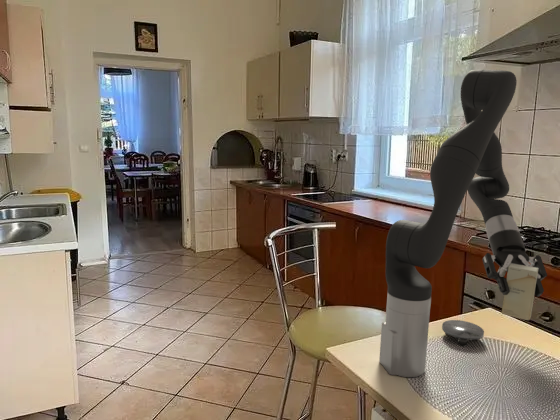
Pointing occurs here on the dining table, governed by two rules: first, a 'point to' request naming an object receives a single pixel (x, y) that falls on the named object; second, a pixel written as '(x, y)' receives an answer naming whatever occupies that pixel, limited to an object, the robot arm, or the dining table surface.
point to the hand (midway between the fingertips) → (523, 294)
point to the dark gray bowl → (462, 331)
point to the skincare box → (520, 291)
